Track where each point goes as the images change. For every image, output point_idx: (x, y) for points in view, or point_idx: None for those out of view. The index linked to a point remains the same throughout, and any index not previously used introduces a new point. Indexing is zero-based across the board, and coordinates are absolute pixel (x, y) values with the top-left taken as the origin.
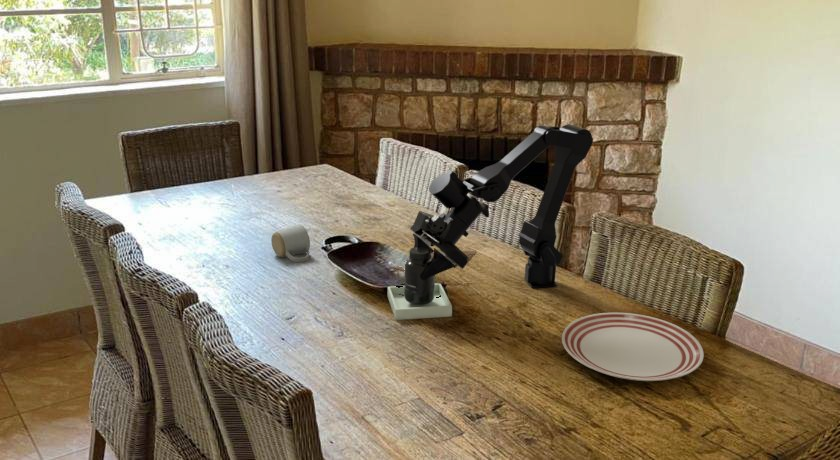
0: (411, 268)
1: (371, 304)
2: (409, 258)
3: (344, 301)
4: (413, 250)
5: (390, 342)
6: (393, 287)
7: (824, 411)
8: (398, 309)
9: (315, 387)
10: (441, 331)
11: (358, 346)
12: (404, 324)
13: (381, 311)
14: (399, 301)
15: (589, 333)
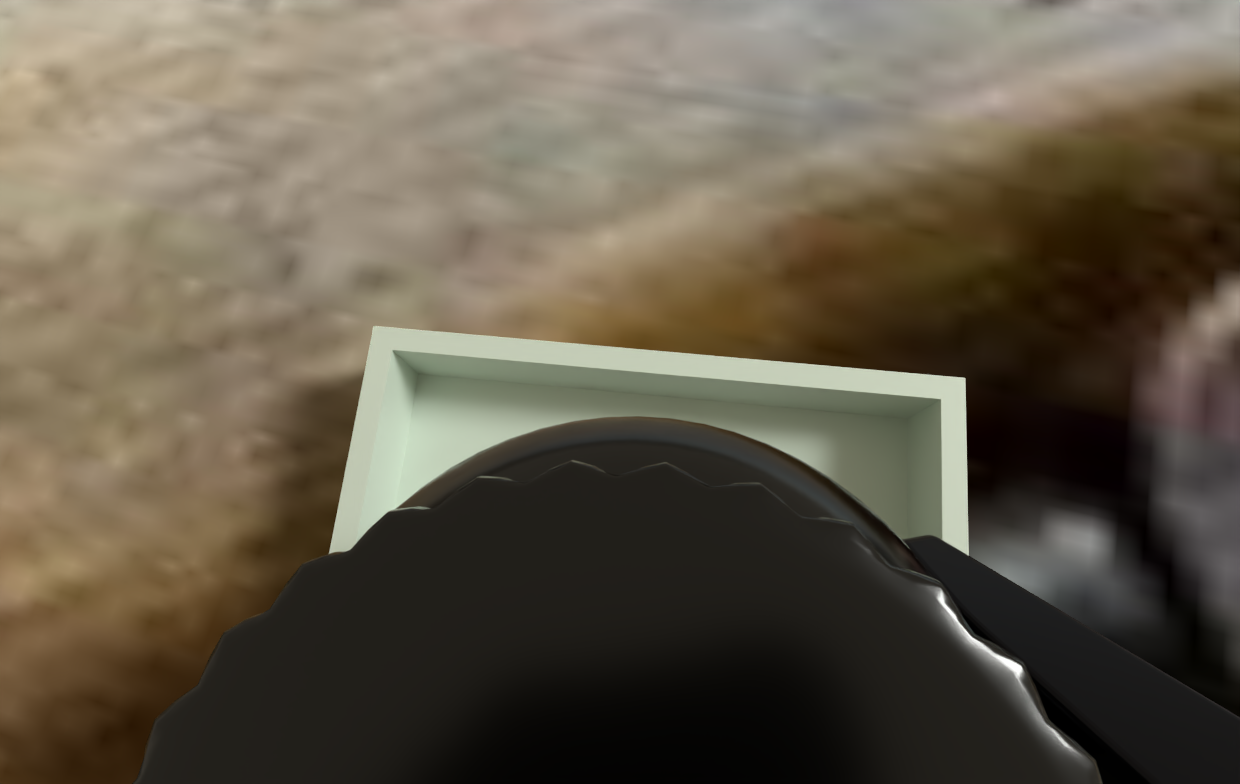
0: (421, 496)
1: (772, 235)
2: (1079, 627)
3: (873, 47)
4: (659, 642)
5: (56, 235)
6: (939, 438)
7: None
8: (370, 354)
9: None
10: (48, 706)
11: (99, 24)
12: (306, 413)
13: (611, 285)
14: None
15: None
